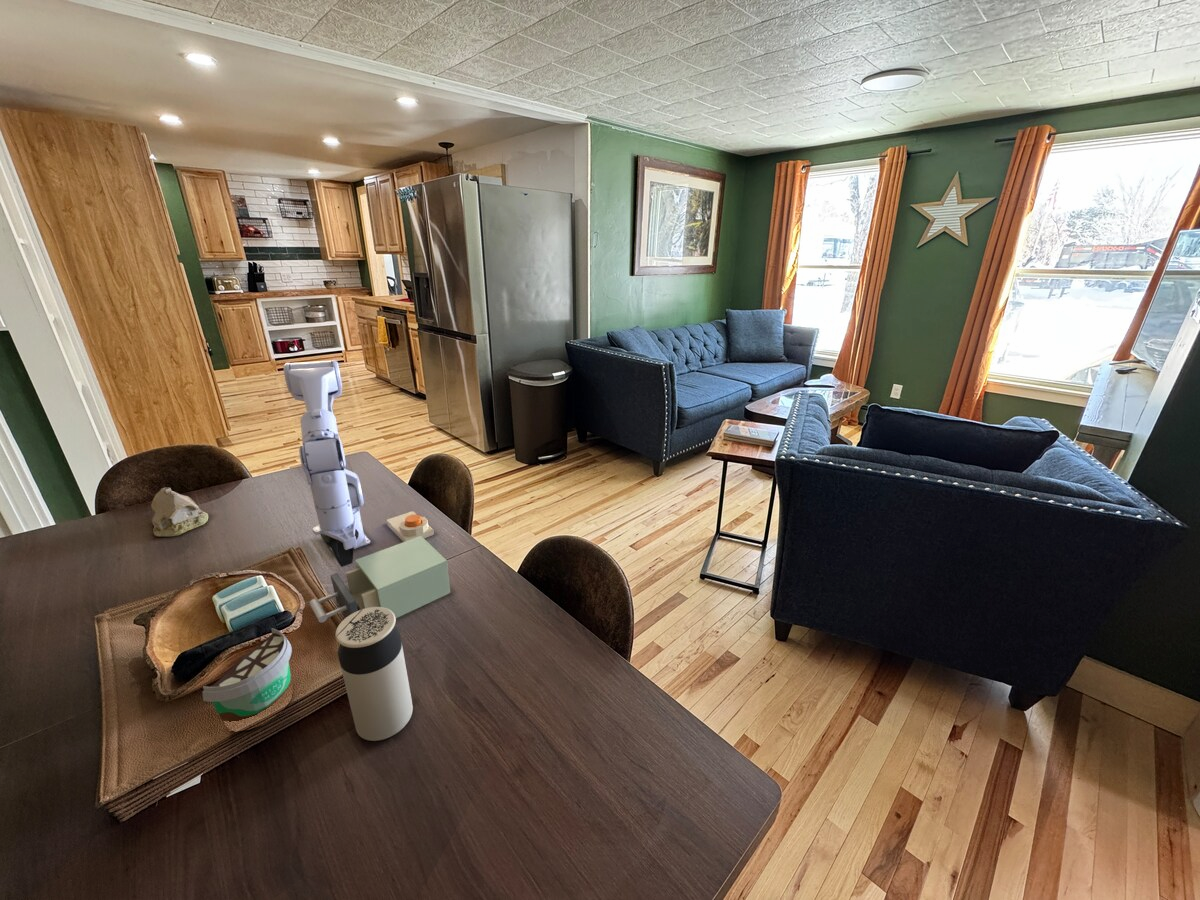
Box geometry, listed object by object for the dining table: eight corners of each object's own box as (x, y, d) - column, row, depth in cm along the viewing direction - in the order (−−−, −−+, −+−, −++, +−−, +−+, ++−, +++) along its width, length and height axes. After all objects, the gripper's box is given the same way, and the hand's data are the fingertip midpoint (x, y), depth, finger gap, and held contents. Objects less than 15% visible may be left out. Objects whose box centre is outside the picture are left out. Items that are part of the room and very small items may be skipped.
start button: (403, 523, 117) (402, 517, 116) (417, 518, 119) (416, 512, 119) (409, 529, 114) (408, 523, 114) (423, 524, 117) (423, 518, 116)
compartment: (326, 644, 83) (319, 616, 81) (309, 612, 91) (302, 585, 88) (421, 600, 94) (417, 574, 92) (399, 575, 102) (395, 550, 99)
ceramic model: (217, 522, 121) (205, 487, 117) (161, 542, 112) (147, 505, 108) (194, 506, 128) (182, 473, 124) (140, 524, 119) (126, 488, 115)
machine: (383, 624, 90) (377, 589, 86) (361, 592, 98) (355, 559, 95) (450, 592, 98) (446, 560, 95) (425, 566, 106) (421, 535, 103)
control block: (387, 525, 122) (385, 513, 120) (413, 516, 126) (412, 504, 125) (406, 545, 114) (404, 533, 112) (434, 535, 118) (432, 523, 117)
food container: (256, 750, 66) (237, 698, 63) (219, 741, 68) (198, 689, 64) (320, 679, 78) (308, 632, 74) (288, 672, 79) (274, 625, 75)
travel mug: (424, 703, 74) (409, 613, 67) (387, 750, 67) (367, 653, 60) (383, 688, 76) (364, 599, 69) (343, 732, 69) (319, 637, 62)
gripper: (297, 494, 89) (312, 554, 94) (319, 525, 79) (334, 590, 84) (338, 483, 93) (350, 541, 98) (363, 511, 83) (375, 574, 89)
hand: (345, 563), depth 91 cm, fingers closed
